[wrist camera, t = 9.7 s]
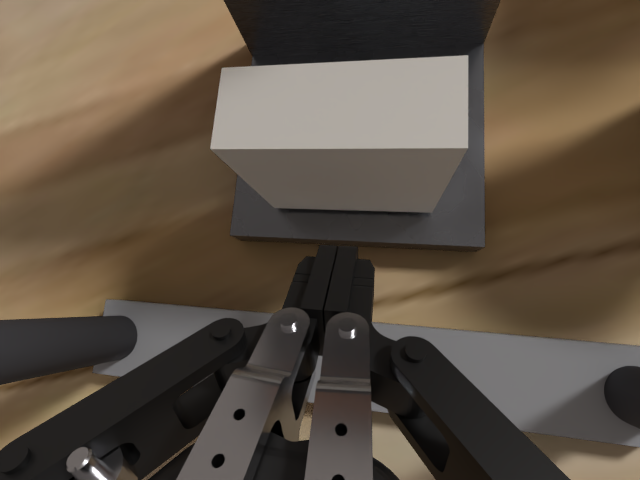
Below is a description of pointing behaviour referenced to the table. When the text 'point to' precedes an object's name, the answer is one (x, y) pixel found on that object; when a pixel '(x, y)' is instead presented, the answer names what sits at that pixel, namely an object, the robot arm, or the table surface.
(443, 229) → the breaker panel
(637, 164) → the table surface
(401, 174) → the block
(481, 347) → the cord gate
